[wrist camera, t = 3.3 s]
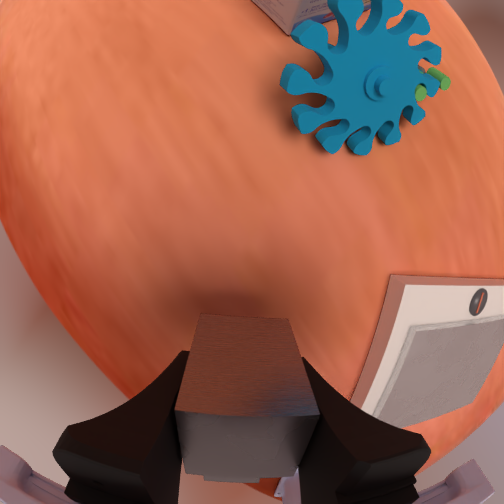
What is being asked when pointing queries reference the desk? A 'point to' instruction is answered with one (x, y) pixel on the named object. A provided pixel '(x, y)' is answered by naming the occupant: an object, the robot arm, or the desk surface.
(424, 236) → the desk surface
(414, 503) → the robot arm
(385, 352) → the kitchen scale
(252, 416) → the block
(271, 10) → the medicine box
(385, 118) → the gear
